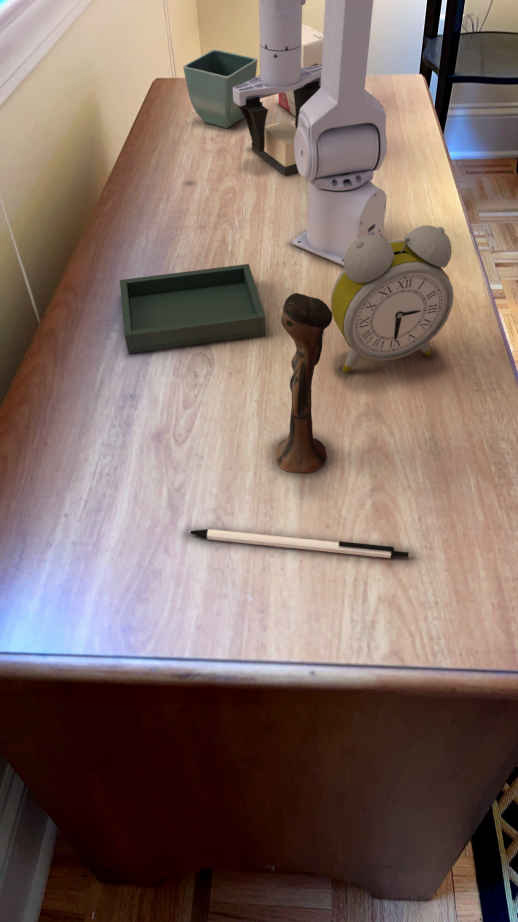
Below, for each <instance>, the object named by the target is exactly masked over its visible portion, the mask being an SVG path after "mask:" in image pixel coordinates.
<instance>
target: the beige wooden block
mask: <svg viewBox="0 0 518 922" xmlns="http://www.w3.org/2000/svg"><path fill="white" fill-rule="evenodd" d="M296 131H297V128H295V126H294V125H292V124H291V123H290V122H288V121H283V122H279V123H276V122H275V123H272V124H268V125H267V124H266V125H265V147H264V152H258V151H257V150H256V149H254V148H253V143H252V142H251V151H252V152H254V153H255V154H256V155H257V156H259V157H260V158H262V159H263V161H265V162H266V163H268V164H270V166H272V167H273V168H274V169H275V170H277V171H278V172H280V174H282V175H283V176H285V177H286V176H289V175H292V174H295V173H299V171H298V168H297V165H296V160H295V152H294V139H295V134H296Z"/></svg>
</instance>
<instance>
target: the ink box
mask: <svg viewBox="0 0 518 922" xmlns="http://www.w3.org/2000/svg"><path fill="white" fill-rule="evenodd" d="M323 34H324V33H322V32H320V31H319V30H318V29H315V28H313V27H311V25H308V24H306V23H302V38H301V68H302V67H311V66H317V65H320V66H322V53H323ZM319 86H320V87H321V84H319ZM277 102H278V105H279V106H281V107H282V108H283V109H285V110H286V111H287V112H289V113H290V114H291V115H293V116H294V117H295V116H296V111H295V100H294V93H293V91H290V92H283V93H279V94H278V101H277Z"/></svg>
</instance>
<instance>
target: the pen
mask: <svg viewBox="0 0 518 922" xmlns="http://www.w3.org/2000/svg"><path fill="white" fill-rule="evenodd" d="M187 533H188V534H190V535H193V536H196V537H200V538H202V539H206V540H212V541H222V542H229V543H239V544H250V545H259V546H270V547H277V548H278V547H279V548H290V549H299V550H308V551H317V552H328V553H337V554H347V555H356V556H357V555H358V556H367V557H375V558H386V559H394V556H395V557H403V558H404V557H406V558H408V557H409V551H408V552H407V551H400V550H395V547H394V546H389V545H379V544H370V543H360V542H351V541H350V542H349V541H341V540H339V541H329V540H321V539H310V538H302V537H301V538H300V537H292V536H291V537H290V536H279V535H270V534H262V533H250V532H242V531H231V530H223V529H222V530H221V529H211V528H206V529H205V528H204V529H196V530H195V529H194V530H189V531H188V532H187Z"/></svg>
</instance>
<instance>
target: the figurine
mask: <svg viewBox="0 0 518 922" xmlns="http://www.w3.org/2000/svg"><path fill="white" fill-rule="evenodd" d="M332 321H333V314H332V310H331V308H330V307H329V306H328V305H327V304H326V303H325V301H323V300H321V299H320V298H318V297H314V296H308V295H306V294H302V293H299V292H294V293H292V294H290V295H289V296H288V297H287V298H286V299H285V301H284V303H283V306H282V312H281V316H280V323H281V326H282V328H283V329H284V330H285V331H286V333H287V334H288V335H289V337H291V339H292V340H293V342H294V345H295V349H296V351H295V353H294V355H293V356H292V358H291V362H290V365H291V368H292V371H293V373H292V375H291V377H290V379H289V389H290V393H291V407H290V418H289V432H288V435H287V438H285V439H282V441H281V442H279V443H278V445H277V447H276V448H275V460H276V463H277V465H278V467H280V468H281V469H282V470H283V471H285V472H288V473H302V474H303V473H312V472H313V473H314V472H315V471H316V470H318V469H320V468H322V467H323V466H324V465H325V463H326V462H327V459H328V454H327V453H328V452H327V450H326V446H325V445H324V444H323V443H322V441H320V440H319V439H317V438H314V434H313V431H314V430H313V416H312V407H313V406H312V403H313V402H312V384H313V377H314V373H315V367H316V366H317V365H318V363H319V362H320V359H321V355H322V351H323V342H324V341H323V338H324V332H325V329H327V328H328V327H329V326H330V325H331V323H332Z"/></svg>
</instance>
